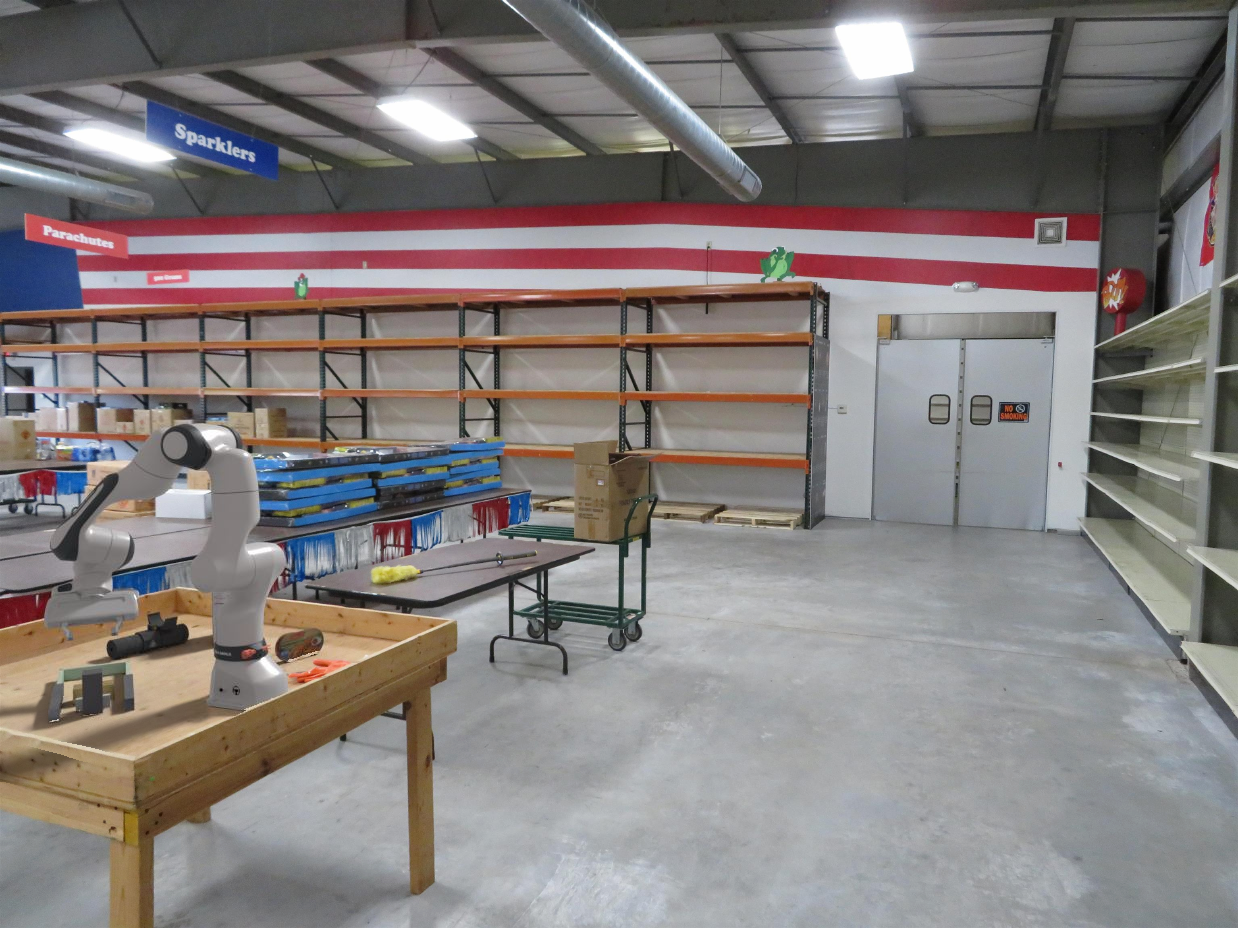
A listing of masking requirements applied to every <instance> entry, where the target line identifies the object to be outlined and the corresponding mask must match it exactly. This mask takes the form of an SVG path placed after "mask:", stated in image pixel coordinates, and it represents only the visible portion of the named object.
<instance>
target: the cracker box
mask: <svg viewBox="0 0 1238 928" xmlns="http://www.w3.org/2000/svg"><path fill="white" fill-rule="evenodd" d="M230 593H231V591H227V592H223V593H211V617H212V618H211V623H212V625H211V626H212V646H213V647H214V643H215V642H216V614H217V611H218V610H219V608H220V607H221V606H222V605H223V604H224V603H225V602H226V601H227V599H228V597H229V595H230Z"/></svg>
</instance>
